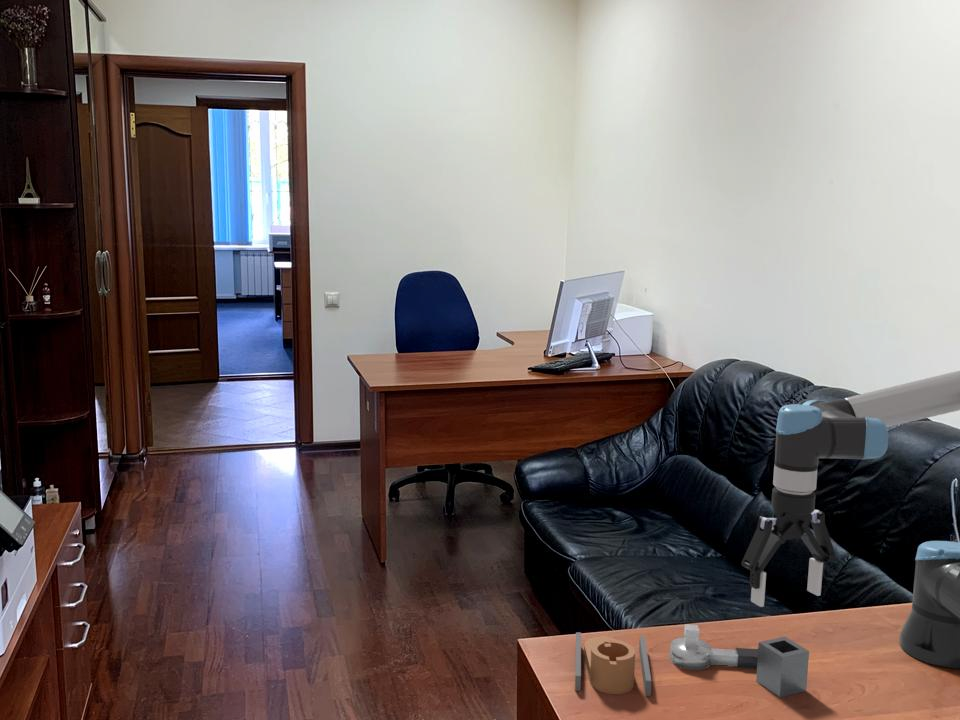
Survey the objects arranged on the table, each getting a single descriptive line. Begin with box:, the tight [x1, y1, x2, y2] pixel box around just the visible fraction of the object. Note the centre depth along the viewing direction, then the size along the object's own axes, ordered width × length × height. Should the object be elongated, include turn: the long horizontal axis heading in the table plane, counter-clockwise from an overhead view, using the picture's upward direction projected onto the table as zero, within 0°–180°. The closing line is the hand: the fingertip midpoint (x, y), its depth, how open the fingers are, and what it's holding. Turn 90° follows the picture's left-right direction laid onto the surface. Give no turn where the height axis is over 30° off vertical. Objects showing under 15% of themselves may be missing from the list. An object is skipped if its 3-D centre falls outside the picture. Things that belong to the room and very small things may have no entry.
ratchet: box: [669, 623, 758, 671], centre depth 176 cm, size 21×8×7 cm, turn 83°
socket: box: [755, 636, 810, 698], centre depth 167 cm, size 6×6×8 cm
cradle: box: [574, 631, 652, 697], centre depth 172 cm, size 14×18×3 cm
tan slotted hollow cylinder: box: [583, 636, 636, 695], centre depth 172 cm, size 18×8×7 cm, turn 0°
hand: (785, 598), depth 165 cm, fingers open, 13 cm apart
